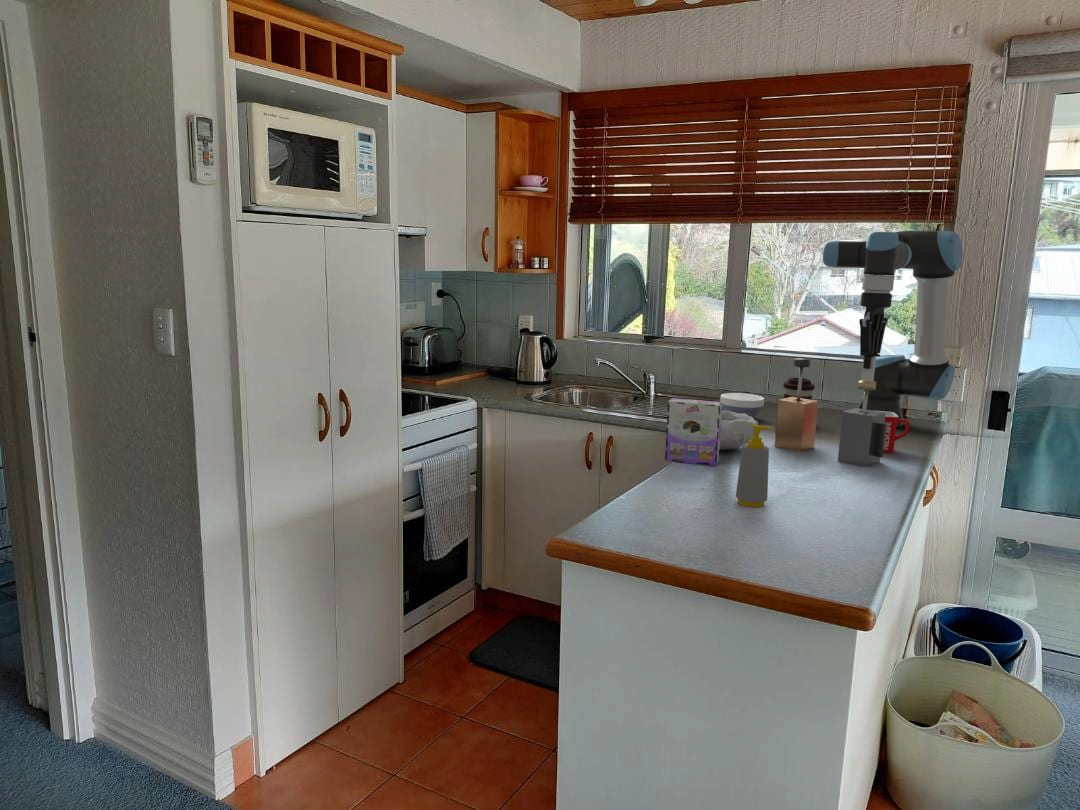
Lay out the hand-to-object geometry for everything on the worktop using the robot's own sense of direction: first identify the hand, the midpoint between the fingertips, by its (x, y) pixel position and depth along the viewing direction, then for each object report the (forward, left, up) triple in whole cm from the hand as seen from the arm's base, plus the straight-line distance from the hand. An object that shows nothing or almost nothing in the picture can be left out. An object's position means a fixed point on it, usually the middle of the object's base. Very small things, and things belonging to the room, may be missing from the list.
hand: (867, 380), depth 215 cm
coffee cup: (-34, -36, -23) cm, 55 cm away
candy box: (+36, -30, -23) cm, 52 cm away
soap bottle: (+57, 0, -23) cm, 61 cm away
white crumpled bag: (+17, -33, -23) cm, 43 cm away
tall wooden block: (-2, -20, -22) cm, 30 cm away
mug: (-20, -1, -23) cm, 30 cm away
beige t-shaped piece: (0, 0, -18) cm, 18 cm away
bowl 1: (-26, -52, -23) cm, 62 cm away
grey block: (0, 0, -22) cm, 22 cm away
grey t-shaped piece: (-2, -20, -14) cm, 24 cm away
